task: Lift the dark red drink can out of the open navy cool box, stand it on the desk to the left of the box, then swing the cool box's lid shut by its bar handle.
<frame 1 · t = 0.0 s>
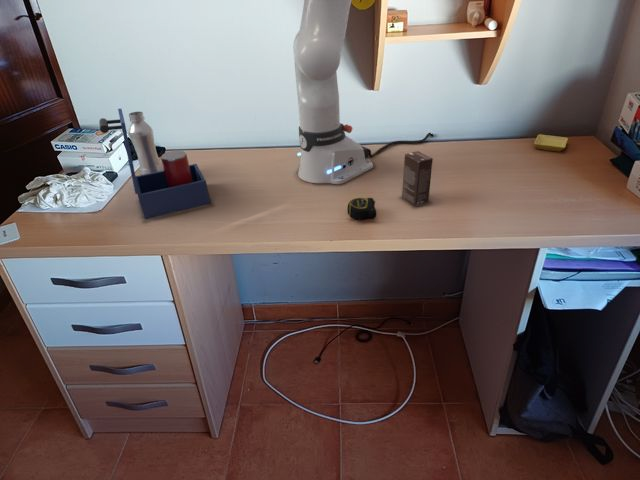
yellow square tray: (549, 147, 139), on the table
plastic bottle: (154, 180, 133), on the table
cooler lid: (118, 152, 108), point 17 cm above the table, hinge at 85.0°
tape measure: (364, 216, 109), on the table
can: (184, 198, 120), point 1 cm above the table, touching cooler
box: (415, 200, 114), on the table
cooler: (175, 203, 120), on the table
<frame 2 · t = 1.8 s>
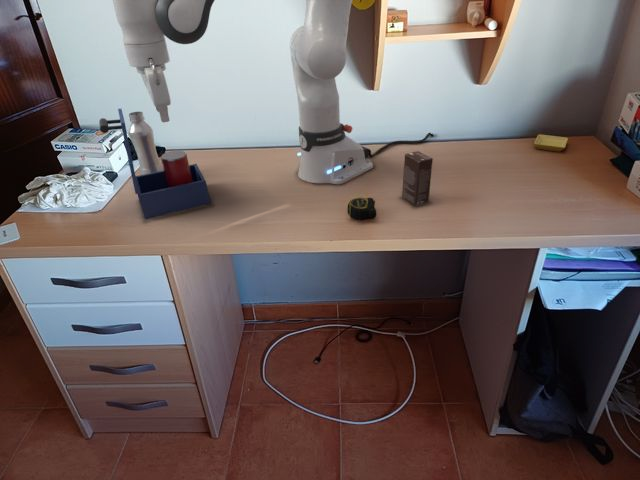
hand: (163, 115, 108), 23 cm above the table, tool pointing down, fingers open, 8 cm apart
nothing on the table moved.
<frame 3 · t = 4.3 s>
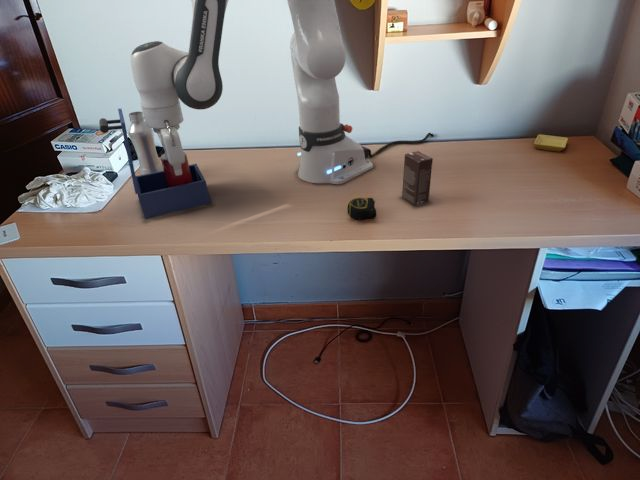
hand: (176, 168, 115), 10 cm above the table, tool pointing down, fingers closed on can, 6 cm apart
can: (184, 198, 120), point 1 cm above the table, touching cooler, gripper
everything else where it was.
when the fingers open (9 cm above the table, at t = 11.7 s): can stays where it is, on the table.
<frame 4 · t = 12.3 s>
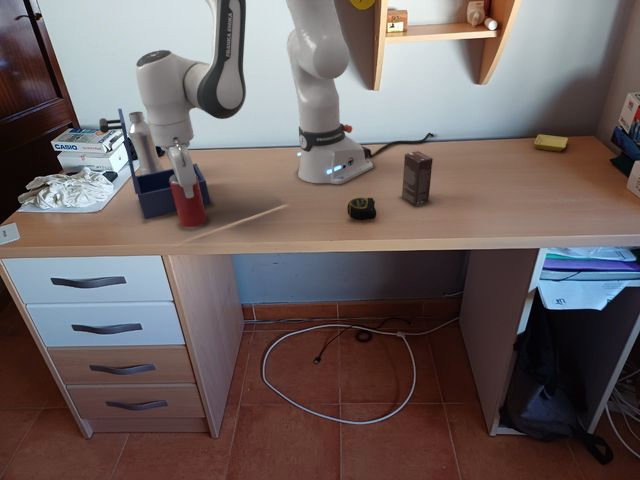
hand: (186, 188, 105), 9 cm above the table, tool pointing down, fingers open, 8 cm apart
can: (193, 222, 110), on the table
everything else where it was.
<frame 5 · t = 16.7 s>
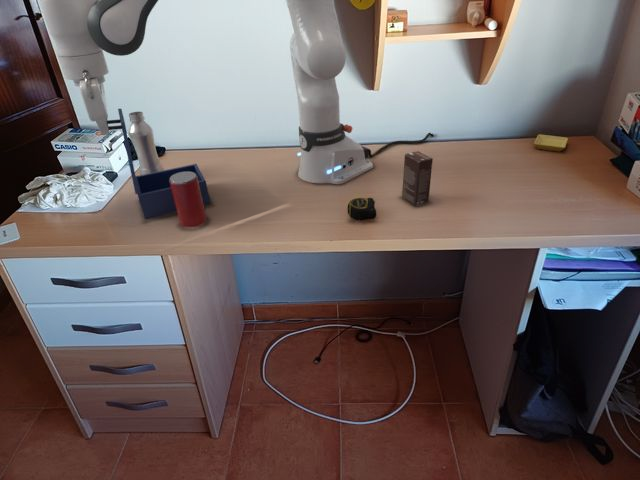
hand: (105, 129, 104), 23 cm above the table, tool pointing down, fingers closed on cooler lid, 6 cm apart
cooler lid: (118, 152, 108), point 17 cm above the table, hinge at 85.0°, touching gripper
everything else where it was.
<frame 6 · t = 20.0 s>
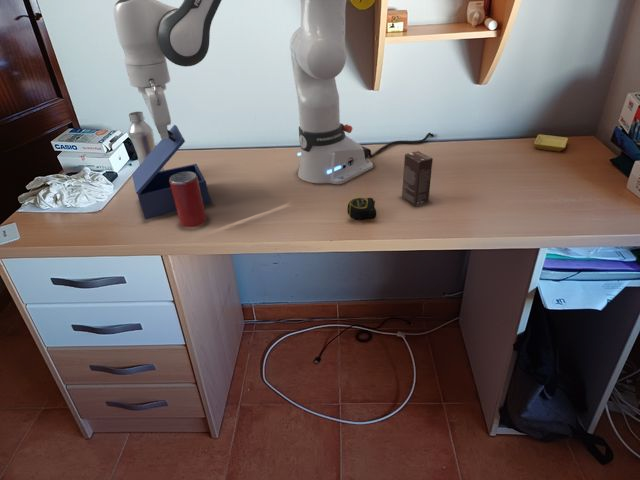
hand: (162, 133, 110), 19 cm above the table, tool pointing down, fingers closed on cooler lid, 6 cm apart
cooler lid: (149, 152, 111), point 15 cm above the table, hinge at 38.7°, touching gripper
everything else where it was.
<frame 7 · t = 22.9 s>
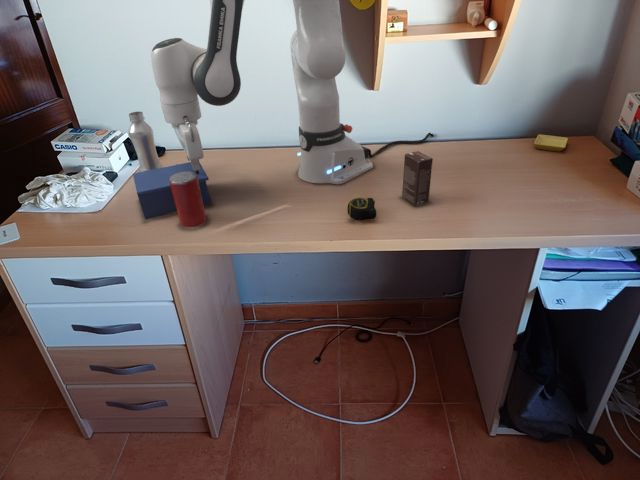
hand: (193, 164, 117), 10 cm above the table, tool pointing down, fingers closed on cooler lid, 6 cm apart
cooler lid: (168, 168, 114), point 10 cm above the table, hinge at -0.2°, touching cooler, gripper
everything else where it was.
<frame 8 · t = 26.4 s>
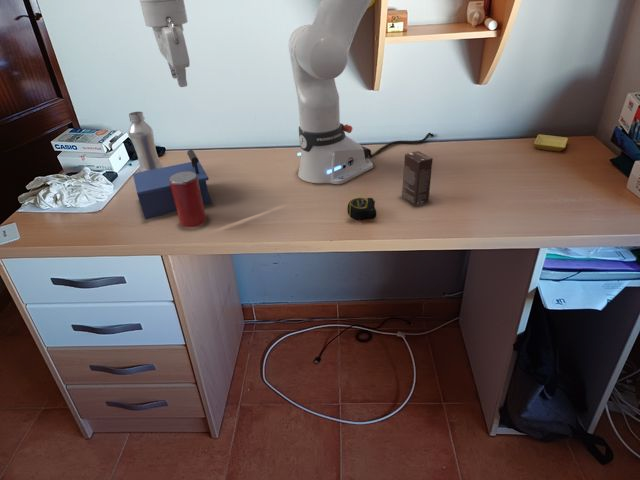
hand: (179, 81, 103), 31 cm above the table, tool pointing down, fingers open, 8 cm apart
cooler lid: (168, 168, 114), point 10 cm above the table, hinge at -0.2°, touching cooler
everything else where it was.
at the end: can inside the target area (0.4 cm from its centre), on the table; can tilted 0°; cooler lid at +0° (first picture: +85°) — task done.
